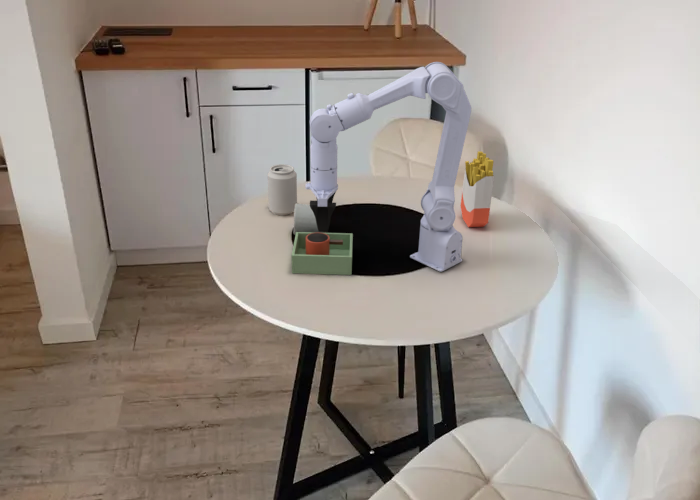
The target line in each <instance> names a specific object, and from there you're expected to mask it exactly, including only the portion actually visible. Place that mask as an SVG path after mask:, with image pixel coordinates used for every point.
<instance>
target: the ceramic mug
mask: <svg viewBox="0 0 700 500" xmlns="http://www.w3.org/2000/svg"><path fill="white" fill-rule="evenodd" d="M296 232H315V233H316V232H319V231H318V228H317V224H316V219H315V215H314V213H313V211H312V209H311V208H310V204H306V203H297V204H295V209H294V212H293V235H294V236H295V235H296ZM319 233H327V232H319Z"/></svg>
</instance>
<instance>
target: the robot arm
mask: <svg viewBox="0 0 700 500" xmlns="http://www.w3.org/2000/svg"><path fill="white" fill-rule="evenodd" d="M464 87H465V86H464V84H463V82H462V81H460V79H459V78H458V77H457V75H456V74H455V73H454V72H453V71H452V70H451V69H450V68H449V67H448V66H447V65H446V64H445V63H444V62H441V61H432V62H430V63H428V64H426V65H425V66H423V65H422V66H420V67H417V68H415V69H414V70H412V71H409V73H407V74H405V75H402V76H401V77H399V78H397V79H395V80H394V81H392V82H389V83H387V84H386V85H384V86H382V87H381V88H379V89H376V90H375V91H373V92H371V93H369V94H364V93H361V92H357V93H356V94H354V92H350V93H348V94H347V95H346V96H347V98H344V99H343V100H340V101H338V102H336V103H334V104H332V103H329V104H327V105H326V108H324V107H322V108H318V109H316V110H314V111H313V113H312V114H311V116H310V119H309V127H310V129H309V130H310V133H311V136H310V182H307V183H305V185H304V186H305V190H310V191H311V192H312V194H313V195H314V196H315V198H316V200H309V205H310V208H311V209H312V211H313V213H314V215H315V219H316V224H317V228H318V231H319V232H326V233H329V229H330V225H331V219H332V216H333V213H334V211H335V209H336V207H337V202H334V197H335V195H336V193H337V191H338V189H339V184H338V148H339V147H338V144H337V138H338V136H339V133H340V132H344V131H346V130H348V129H351V128H353V127H355V126H357V125H360V124H362V123H364V122H366V121H368V120H370V119H371V118H372V116H373V114H374V111H375V110H378V109H380V108H383V107H385V106H388V105H390V104H392V103H395V102H397V101H401V100H403V99H405V98H407V97H410V96H411V97H414V98H418V99H423V100H426V99H427V97H426V94H427V95H428V96H429V98H430V99H431V100H432V101H433V102H435V103H437V104H438V105H440V106H441V107H442V108H443V109H444V111H445V116H444V121H443V126H442V130H441V135H440V141H439V144H438V150H437V154H436V158H435V159H436V160H435V165H434V169H433V174H432V177H431V178H432V179H431V181H429V183H428V186H427V189H426V191H425V192H424V194H423V195H422V197H421V199H420V206H421V209H422V210H423V213H424V214H423V216H422V217H421V219H420V225H419V239H418V250H417V252H414V253H412V254H410V255H409V258H410V259H412V260H414V261H416V262H418V263H421V264H422V265H424V266H426V267H429V268H432V269H433V270H435V271H438V272H439V273H440V272H444V271H446V270H449V269H450V268H452V267H454V266H456V265H458V264H460V263H462V262H463V258H462V257H461V256H462V248H463V234H462V233H461V232H460V231H459V230H457V229H456V228H455V226H454V225H453V224H454V223H455V221H456V212H455V202H456V199H455V198H456V197H455V186H456V185H455V184H456V181H457V177H458V172H459V167H460V163H461V159H462V154H463V149H464V144H465V141H466V136H467V133H468V128H469V123H470V119H471V114H472V105H471V103H470V100H469V98H468V95H467V93H466V90H465V88H464Z"/></svg>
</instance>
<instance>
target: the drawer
mask: <svg viewBox="0 0 700 500" xmlns="http://www.w3.org/2000/svg"><path fill="white" fill-rule="evenodd" d="M311 233H315V232H296V235H294V241H293V247H292V252H291V274H300V275H304V274H306V275H341V276H342V275H343V276H352V273H353V272H352V271H353V239H354V238H353V237H354V234H353V232H351V233H350V232H349V233H348V232H347V233H346V232H326V233H325V234H327V235H328V236H329V237H330V239H332V240H343V245H333V244H330V255H306V236H307V235H308V234H311Z"/></svg>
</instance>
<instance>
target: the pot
mask: <svg viewBox="0 0 700 500" xmlns="http://www.w3.org/2000/svg"><path fill="white" fill-rule="evenodd" d="M330 244H333V245H343V240H332V239H330V237H329V236H328V235H327V234H325V233H319V232H316V233H311V234H308V235H307V236H306V255H330Z"/></svg>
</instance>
